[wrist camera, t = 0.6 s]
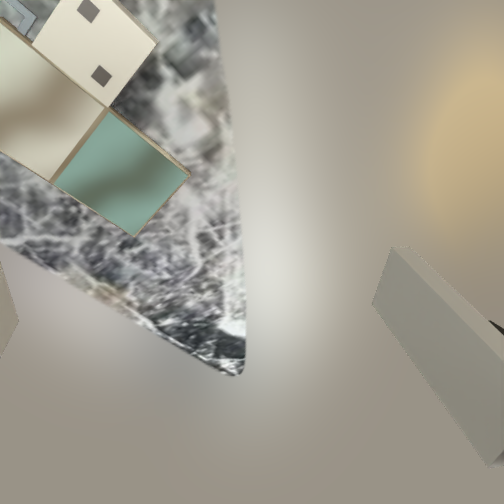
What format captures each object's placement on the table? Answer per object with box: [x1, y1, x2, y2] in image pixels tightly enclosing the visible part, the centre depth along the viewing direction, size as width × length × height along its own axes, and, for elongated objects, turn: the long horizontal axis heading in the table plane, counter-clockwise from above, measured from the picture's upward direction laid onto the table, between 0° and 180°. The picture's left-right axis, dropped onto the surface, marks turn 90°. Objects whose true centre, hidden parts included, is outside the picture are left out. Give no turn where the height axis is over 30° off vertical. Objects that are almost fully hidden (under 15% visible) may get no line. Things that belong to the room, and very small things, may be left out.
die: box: [32, 0, 159, 107], centre depth 23 cm, size 5×5×5 cm
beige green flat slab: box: [0, 17, 191, 238], centre depth 28 cm, size 16×8×1 cm, turn 45°
